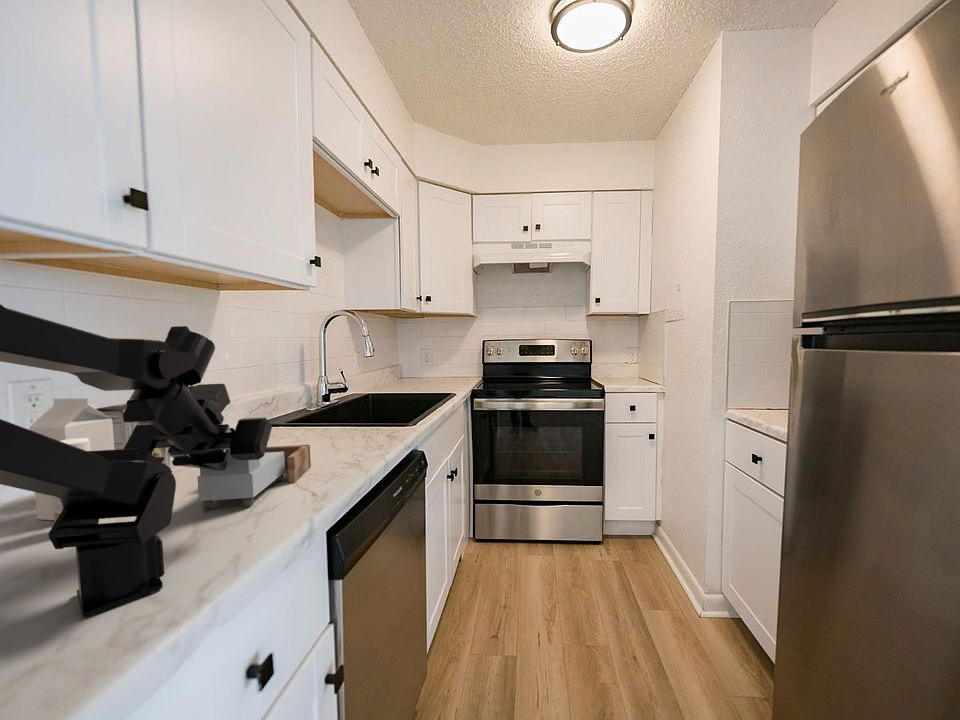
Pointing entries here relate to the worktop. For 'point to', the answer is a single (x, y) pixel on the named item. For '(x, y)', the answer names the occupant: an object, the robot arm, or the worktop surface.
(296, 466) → the bay
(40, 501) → the milk carton
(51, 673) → the worktop surface
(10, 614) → the worktop surface
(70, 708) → the worktop surface
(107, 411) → the coffee box
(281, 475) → the trolley
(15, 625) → the worktop surface
